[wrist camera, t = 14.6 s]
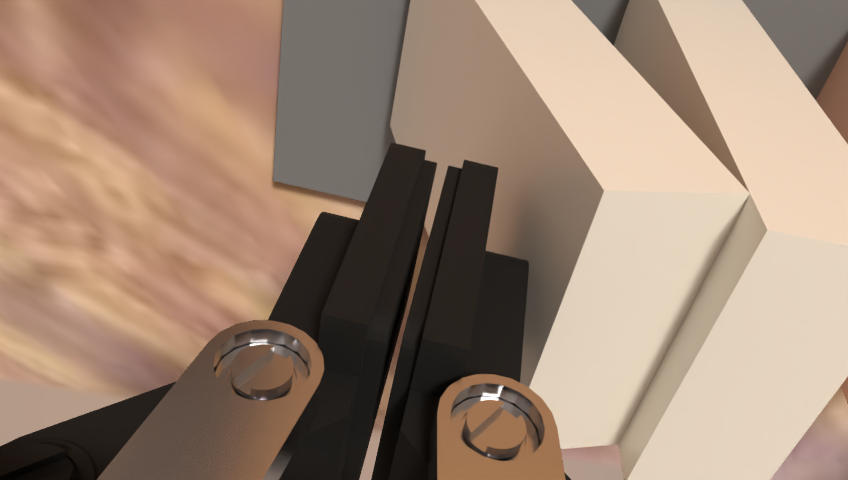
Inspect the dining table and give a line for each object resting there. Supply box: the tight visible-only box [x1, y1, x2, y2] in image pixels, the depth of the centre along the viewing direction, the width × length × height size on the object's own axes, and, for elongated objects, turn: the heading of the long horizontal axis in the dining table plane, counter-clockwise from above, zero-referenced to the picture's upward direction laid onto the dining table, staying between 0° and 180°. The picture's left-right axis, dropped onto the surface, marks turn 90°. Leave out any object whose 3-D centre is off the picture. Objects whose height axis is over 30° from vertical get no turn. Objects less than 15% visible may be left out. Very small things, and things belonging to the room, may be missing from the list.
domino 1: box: [390, 0, 750, 449], centre depth 14 cm, size 2×5×10 cm, turn 170°
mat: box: [273, 0, 848, 202], centre depth 18 cm, size 26×11×1 cm, turn 80°
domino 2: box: [614, 0, 848, 480], centre depth 14 cm, size 2×5×10 cm, turn 170°
